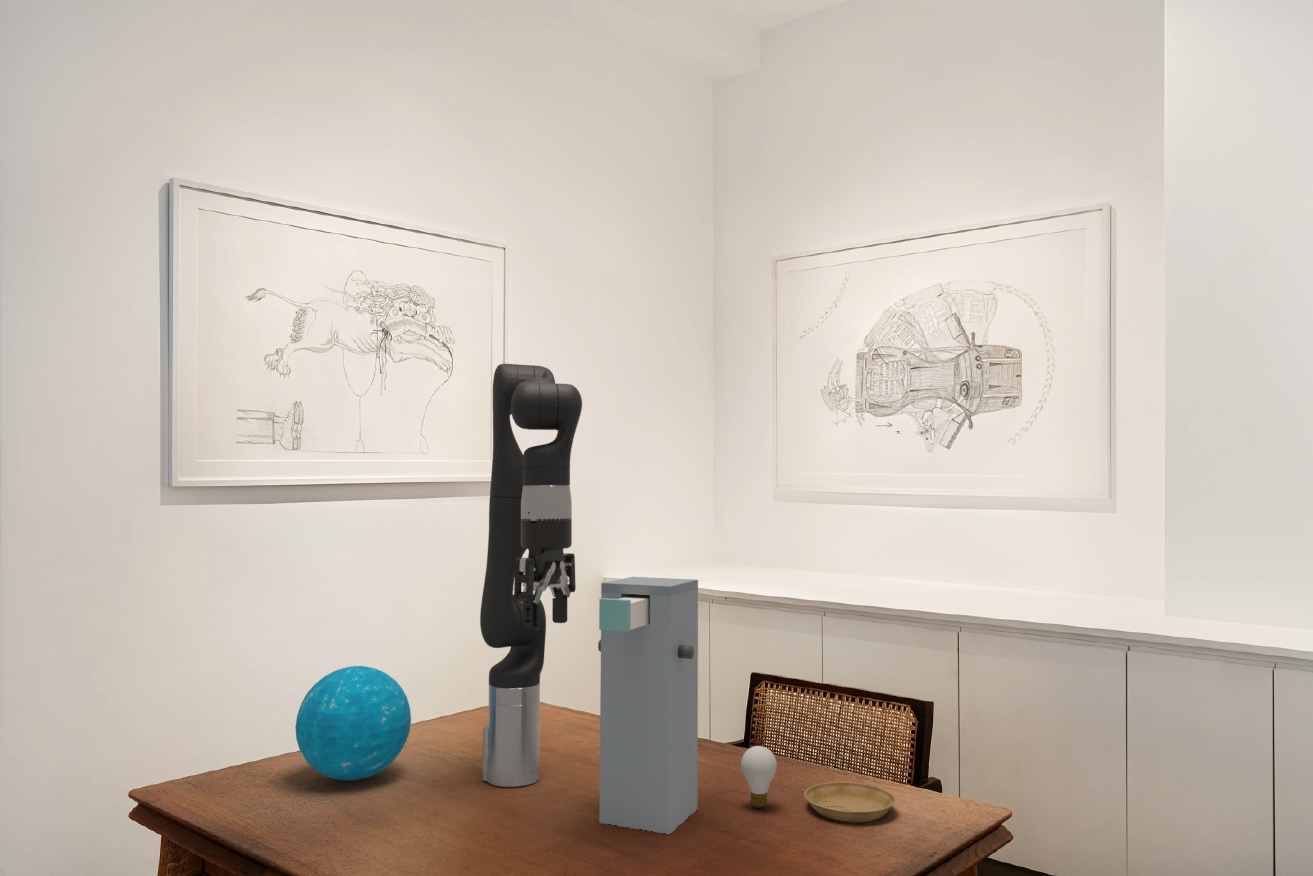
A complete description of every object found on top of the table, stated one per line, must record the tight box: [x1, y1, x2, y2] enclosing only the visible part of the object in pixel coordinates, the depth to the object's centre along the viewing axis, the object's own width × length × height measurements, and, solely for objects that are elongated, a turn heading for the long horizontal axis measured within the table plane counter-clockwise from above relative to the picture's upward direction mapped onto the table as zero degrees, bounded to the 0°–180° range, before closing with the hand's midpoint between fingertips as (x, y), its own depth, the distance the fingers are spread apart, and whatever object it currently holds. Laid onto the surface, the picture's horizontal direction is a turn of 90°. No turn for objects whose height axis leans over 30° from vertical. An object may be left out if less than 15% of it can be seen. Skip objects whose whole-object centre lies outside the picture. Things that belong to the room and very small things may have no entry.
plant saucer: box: [803, 781, 897, 823], centre depth 152 cm, size 15×15×3 cm
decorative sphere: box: [294, 665, 412, 782], centre depth 168 cm, size 20×20×20 cm
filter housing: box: [597, 576, 699, 835], centre depth 150 cm, size 16×12×38 cm
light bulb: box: [740, 745, 778, 809], centre depth 153 cm, size 6×6×10 cm
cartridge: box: [598, 594, 650, 632], centre depth 146 cm, size 5×19×5 cm, turn 157°
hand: (546, 626), depth 136 cm, fingers open, 8 cm apart
